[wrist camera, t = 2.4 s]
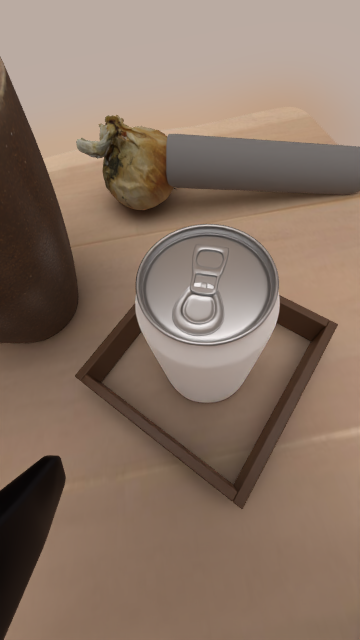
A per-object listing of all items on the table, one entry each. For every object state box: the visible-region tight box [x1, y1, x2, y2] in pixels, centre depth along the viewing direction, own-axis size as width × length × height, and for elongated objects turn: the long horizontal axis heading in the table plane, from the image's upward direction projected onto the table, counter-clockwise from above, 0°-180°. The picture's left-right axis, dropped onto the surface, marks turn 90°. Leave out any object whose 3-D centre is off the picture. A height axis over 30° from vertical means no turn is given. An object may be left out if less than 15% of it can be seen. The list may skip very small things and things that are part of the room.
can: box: [135, 224, 280, 403], centre depth 16 cm, size 6×6×12 cm
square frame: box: [75, 295, 338, 509], centre depth 20 cm, size 13×13×3 cm
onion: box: [76, 115, 175, 210], centre depth 26 cm, size 8×8×8 cm
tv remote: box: [166, 134, 360, 195], centre depth 25 cm, size 4×20×2 cm
